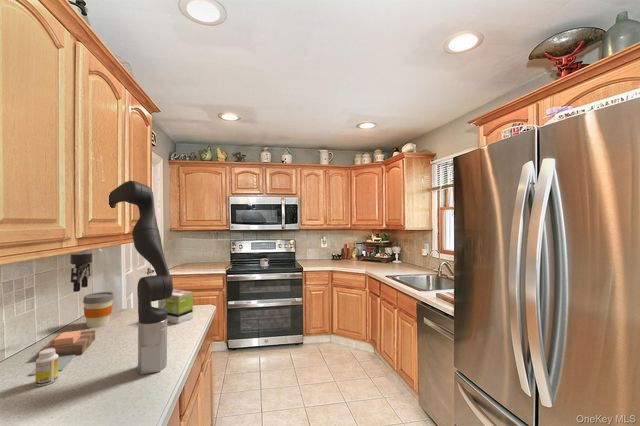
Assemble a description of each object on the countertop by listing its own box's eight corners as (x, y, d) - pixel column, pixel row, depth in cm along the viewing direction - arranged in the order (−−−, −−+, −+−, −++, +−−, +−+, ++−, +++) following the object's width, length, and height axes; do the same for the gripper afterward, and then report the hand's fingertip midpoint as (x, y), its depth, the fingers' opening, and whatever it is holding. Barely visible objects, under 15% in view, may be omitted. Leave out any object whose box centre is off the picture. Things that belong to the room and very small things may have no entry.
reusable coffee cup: (85, 322, 154) (86, 293, 155) (114, 318, 160) (115, 290, 161) (79, 330, 143) (80, 299, 144) (111, 326, 149) (112, 296, 150)
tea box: (157, 320, 158) (157, 292, 158) (173, 315, 167) (173, 288, 168) (178, 324, 152) (178, 295, 152) (193, 318, 161) (193, 291, 162)
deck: (81, 354, 118) (82, 344, 118) (40, 360, 113) (40, 349, 114) (94, 339, 133) (95, 330, 133) (58, 343, 128) (58, 334, 128)
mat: (61, 371, 106) (61, 369, 106) (28, 375, 102) (28, 374, 102) (75, 355, 118) (75, 354, 118) (46, 359, 114) (46, 358, 114)
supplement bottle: (52, 376, 102) (53, 346, 102) (61, 379, 100) (62, 349, 100) (31, 384, 97) (32, 352, 97) (40, 388, 95) (41, 356, 95)
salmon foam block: (73, 343, 119) (73, 337, 119) (54, 346, 117) (54, 339, 117) (80, 336, 126) (80, 330, 126) (62, 338, 124) (63, 332, 124)
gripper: (85, 254, 127) (84, 292, 127) (97, 250, 140) (96, 285, 140) (63, 254, 124) (62, 293, 124) (77, 251, 137) (77, 286, 137)
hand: (80, 289), depth 132 cm, fingers open, 8 cm apart
